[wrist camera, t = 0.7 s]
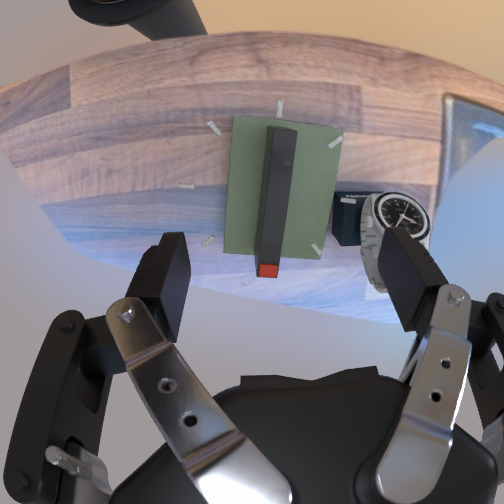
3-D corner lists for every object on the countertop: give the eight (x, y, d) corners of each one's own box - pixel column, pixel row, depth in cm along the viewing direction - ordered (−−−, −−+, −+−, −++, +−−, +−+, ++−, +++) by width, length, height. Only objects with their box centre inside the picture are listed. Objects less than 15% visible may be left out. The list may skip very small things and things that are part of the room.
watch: (386, 173, 27) (451, 210, 17) (378, 245, 31) (427, 305, 21) (334, 172, 27) (384, 210, 17) (330, 248, 30) (366, 314, 21)
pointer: (267, 124, 22) (273, 128, 18) (287, 127, 22) (298, 131, 18) (253, 250, 27) (256, 279, 23) (271, 252, 27) (277, 280, 23)
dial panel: (189, 96, 23) (182, 94, 20) (356, 115, 24) (370, 117, 22) (183, 251, 30) (178, 266, 27) (329, 260, 31) (338, 276, 28)
